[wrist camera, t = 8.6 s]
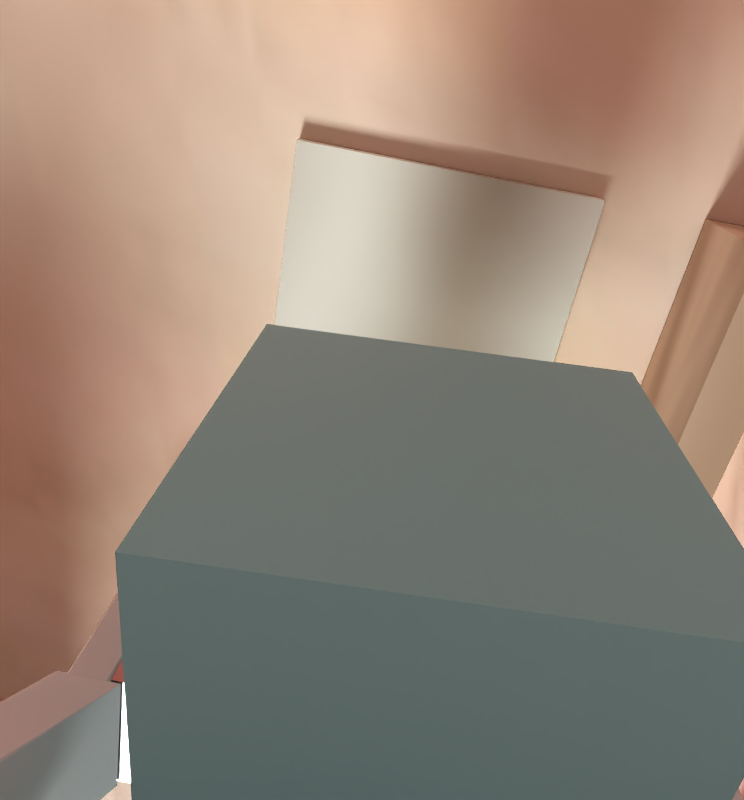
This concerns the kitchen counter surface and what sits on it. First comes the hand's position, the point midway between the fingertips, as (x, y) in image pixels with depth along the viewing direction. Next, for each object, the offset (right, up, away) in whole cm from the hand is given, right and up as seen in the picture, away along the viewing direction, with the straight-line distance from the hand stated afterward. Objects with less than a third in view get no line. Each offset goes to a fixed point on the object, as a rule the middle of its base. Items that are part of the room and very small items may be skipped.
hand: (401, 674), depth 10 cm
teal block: (0, +1, +1) cm, 2 cm away
